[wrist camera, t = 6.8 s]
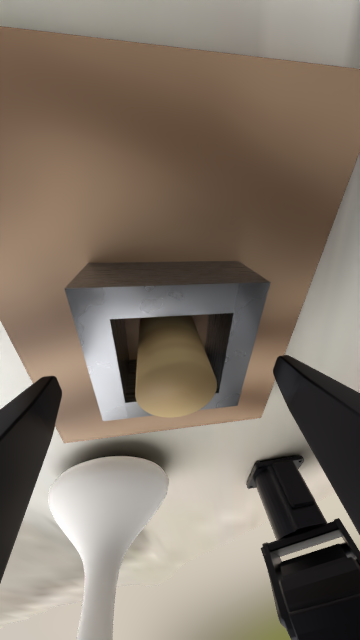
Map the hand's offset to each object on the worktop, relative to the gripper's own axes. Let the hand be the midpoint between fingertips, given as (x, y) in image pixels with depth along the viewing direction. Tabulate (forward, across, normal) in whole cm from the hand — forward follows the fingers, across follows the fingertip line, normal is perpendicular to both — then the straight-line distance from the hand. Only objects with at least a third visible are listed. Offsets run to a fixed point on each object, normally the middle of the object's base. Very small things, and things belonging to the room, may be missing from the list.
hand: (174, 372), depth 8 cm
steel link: (+4, 0, 0) cm, 4 cm away
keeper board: (+5, 0, 0) cm, 5 cm away
